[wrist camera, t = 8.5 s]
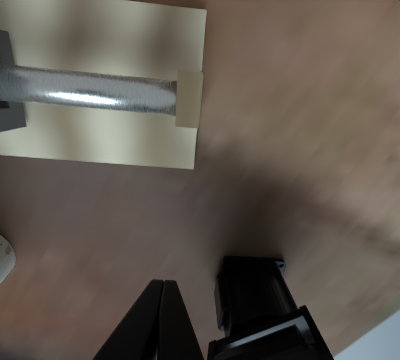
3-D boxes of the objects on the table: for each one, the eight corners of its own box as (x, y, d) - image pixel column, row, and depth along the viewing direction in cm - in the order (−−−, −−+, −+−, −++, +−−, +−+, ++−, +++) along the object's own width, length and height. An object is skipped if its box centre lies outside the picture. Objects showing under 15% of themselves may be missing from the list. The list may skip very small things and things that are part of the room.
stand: (205, 13, 15) (211, -20, 11) (193, 166, 19) (193, 190, 15) (-75, -19, 14) (-205, -72, 10) (-27, 149, 18) (-102, 169, 14)
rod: (201, 80, 14) (203, 78, 12) (198, 119, 15) (199, 123, 13) (-102, 50, 13) (-161, 42, 11) (-86, 94, 14) (-139, 94, 12)
